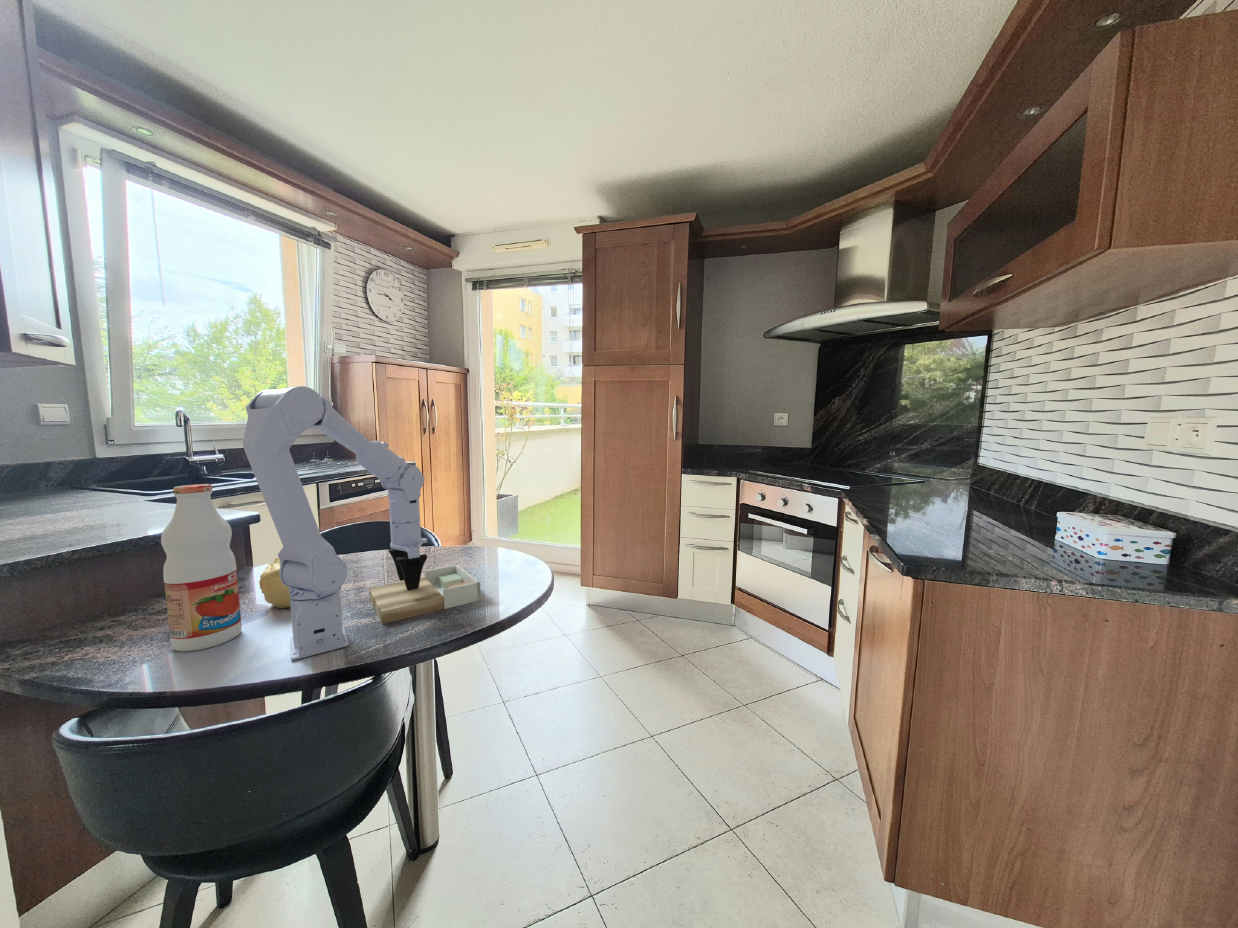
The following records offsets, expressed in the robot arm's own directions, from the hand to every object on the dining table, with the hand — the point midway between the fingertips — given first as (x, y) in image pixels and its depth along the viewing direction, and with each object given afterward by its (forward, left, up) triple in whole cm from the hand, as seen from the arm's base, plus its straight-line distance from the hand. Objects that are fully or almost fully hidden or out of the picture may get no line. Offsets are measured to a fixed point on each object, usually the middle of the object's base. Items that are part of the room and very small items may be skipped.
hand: (408, 584), depth 95 cm
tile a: (-4, -10, -2) cm, 11 cm away
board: (0, +1, -4) cm, 4 cm away
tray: (0, -9, -4) cm, 10 cm away
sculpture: (+17, +19, -4) cm, 26 cm away
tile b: (+4, -10, -2) cm, 11 cm away
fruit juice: (+5, +32, -4) cm, 33 cm away
